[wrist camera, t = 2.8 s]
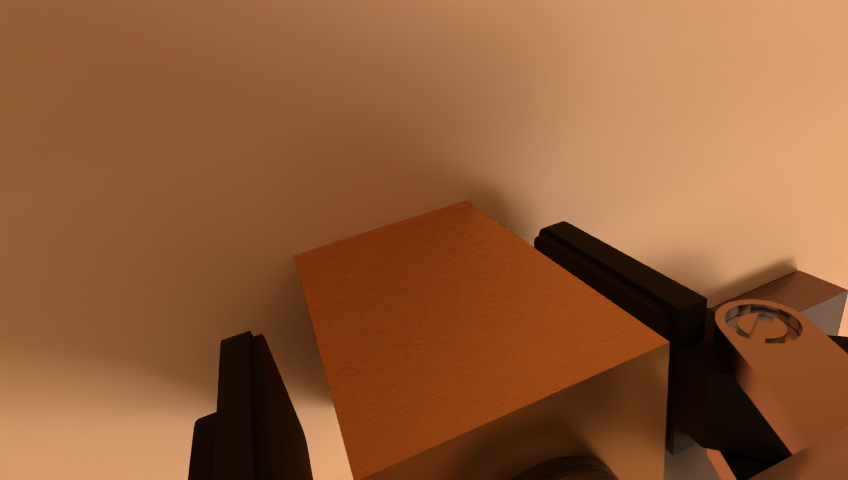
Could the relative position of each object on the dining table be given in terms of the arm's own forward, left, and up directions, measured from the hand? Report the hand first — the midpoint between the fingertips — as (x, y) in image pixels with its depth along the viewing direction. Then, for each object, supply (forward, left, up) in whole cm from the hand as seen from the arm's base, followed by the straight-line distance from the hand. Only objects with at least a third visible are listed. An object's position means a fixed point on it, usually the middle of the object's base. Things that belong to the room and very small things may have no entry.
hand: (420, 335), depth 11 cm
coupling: (0, 0, -1) cm, 1 cm away
